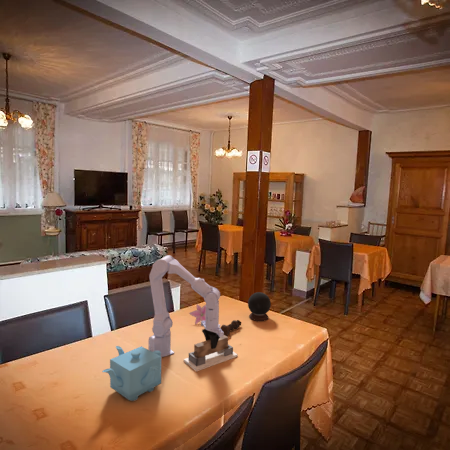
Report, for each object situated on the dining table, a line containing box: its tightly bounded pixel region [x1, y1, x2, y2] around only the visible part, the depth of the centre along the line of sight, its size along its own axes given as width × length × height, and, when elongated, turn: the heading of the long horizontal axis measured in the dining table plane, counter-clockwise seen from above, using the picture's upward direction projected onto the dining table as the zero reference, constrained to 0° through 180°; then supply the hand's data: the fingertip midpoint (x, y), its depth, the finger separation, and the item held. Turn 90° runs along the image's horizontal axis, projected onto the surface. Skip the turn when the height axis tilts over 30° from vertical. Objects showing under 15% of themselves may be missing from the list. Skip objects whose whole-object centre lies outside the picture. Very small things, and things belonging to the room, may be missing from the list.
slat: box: [193, 335, 229, 358], centre depth 151 cm, size 16×3×5 cm, turn 127°
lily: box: [188, 303, 206, 325], centre depth 192 cm, size 12×12×10 cm
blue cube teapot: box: [102, 345, 162, 402], centre depth 126 cm, size 19×19×15 cm
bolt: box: [220, 319, 242, 337], centre depth 181 cm, size 6×5×15 cm
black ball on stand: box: [247, 291, 272, 322], centre depth 199 cm, size 13×13×15 cm
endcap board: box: [183, 343, 239, 372], centre depth 151 cm, size 22×10×4 cm, turn 127°
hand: (211, 346), depth 151 cm, fingers closed on slat, 3 cm apart
